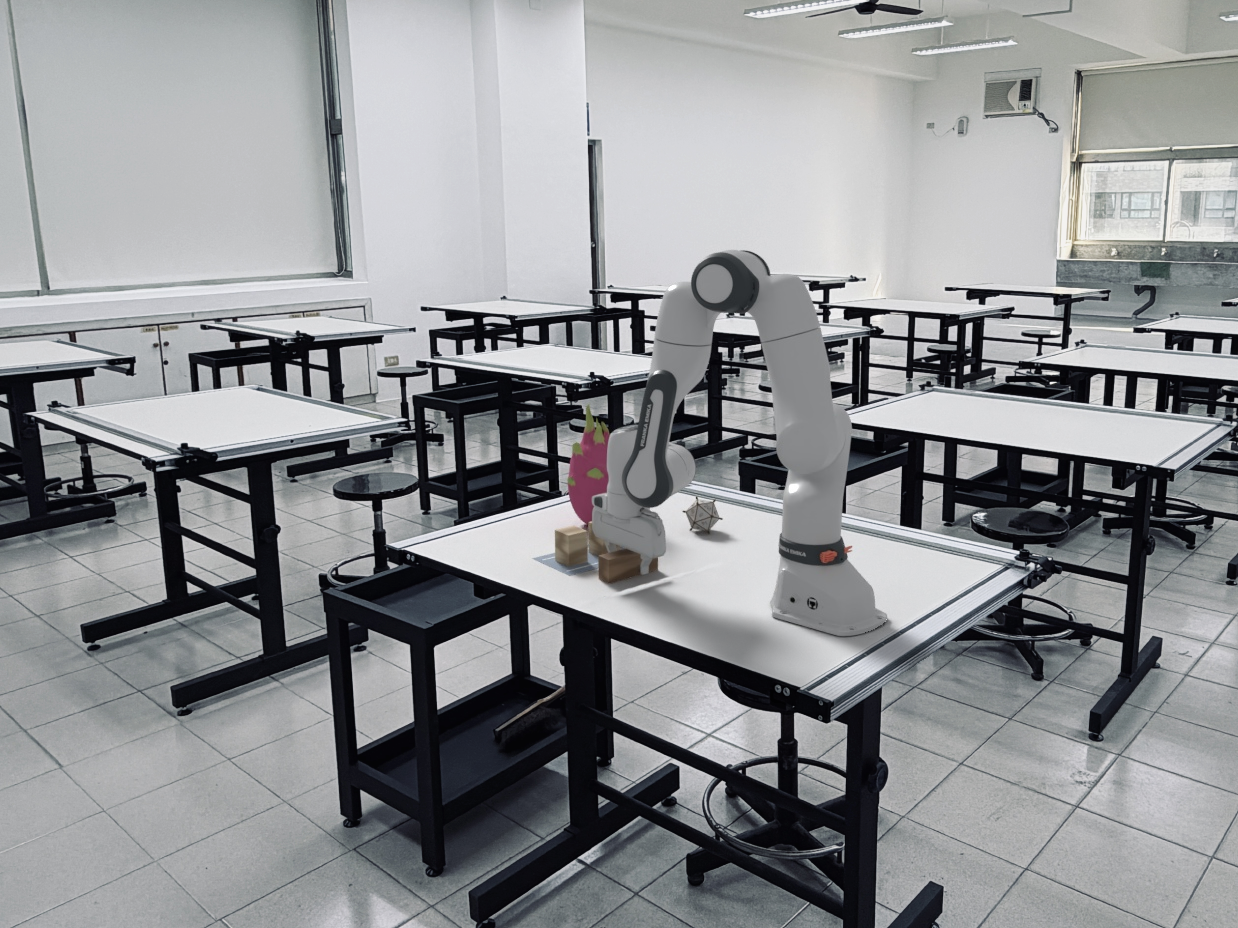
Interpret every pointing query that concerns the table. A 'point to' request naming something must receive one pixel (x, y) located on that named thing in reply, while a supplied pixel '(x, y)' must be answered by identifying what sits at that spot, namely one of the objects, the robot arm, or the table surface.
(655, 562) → the walnut lintel
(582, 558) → the pillar left
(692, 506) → the game die
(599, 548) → the pillar right
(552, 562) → the blueprint board
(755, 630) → the table surface
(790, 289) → the robot arm
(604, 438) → the pink dragon fruit
